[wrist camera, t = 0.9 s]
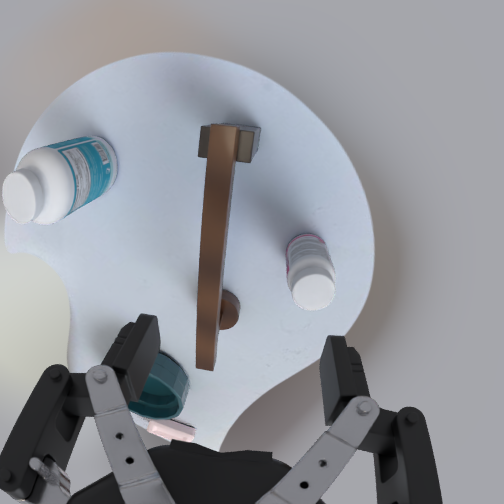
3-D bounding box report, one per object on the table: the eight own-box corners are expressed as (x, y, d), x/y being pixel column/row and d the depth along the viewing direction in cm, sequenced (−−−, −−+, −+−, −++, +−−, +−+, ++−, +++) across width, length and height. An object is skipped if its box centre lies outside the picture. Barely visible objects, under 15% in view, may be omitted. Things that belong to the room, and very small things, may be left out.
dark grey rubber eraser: (257, 150, 30) (250, 163, 22) (219, 145, 30) (197, 157, 22) (261, 127, 29) (254, 131, 21) (221, 123, 29) (200, 125, 21)
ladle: (238, 323, 39) (226, 385, 29) (202, 317, 39) (181, 377, 30) (265, 125, 29) (259, 129, 19) (218, 120, 29) (189, 122, 19)
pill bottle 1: (65, 181, 33) (-10, 217, 20) (80, 126, 30) (-2, 143, 17) (109, 205, 34) (40, 253, 21) (129, 148, 31) (53, 174, 18)
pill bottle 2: (277, 246, 34) (277, 285, 27) (314, 224, 33) (325, 259, 25) (299, 277, 36) (303, 322, 28) (334, 258, 34) (348, 299, 27)
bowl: (101, 348, 44) (88, 368, 40) (164, 338, 42) (154, 362, 37) (141, 399, 49) (132, 419, 45) (202, 395, 47) (197, 418, 42)
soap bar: (152, 411, 51) (149, 421, 49) (197, 427, 52) (194, 437, 49) (149, 423, 53) (145, 432, 51) (190, 438, 54) (188, 447, 52)
